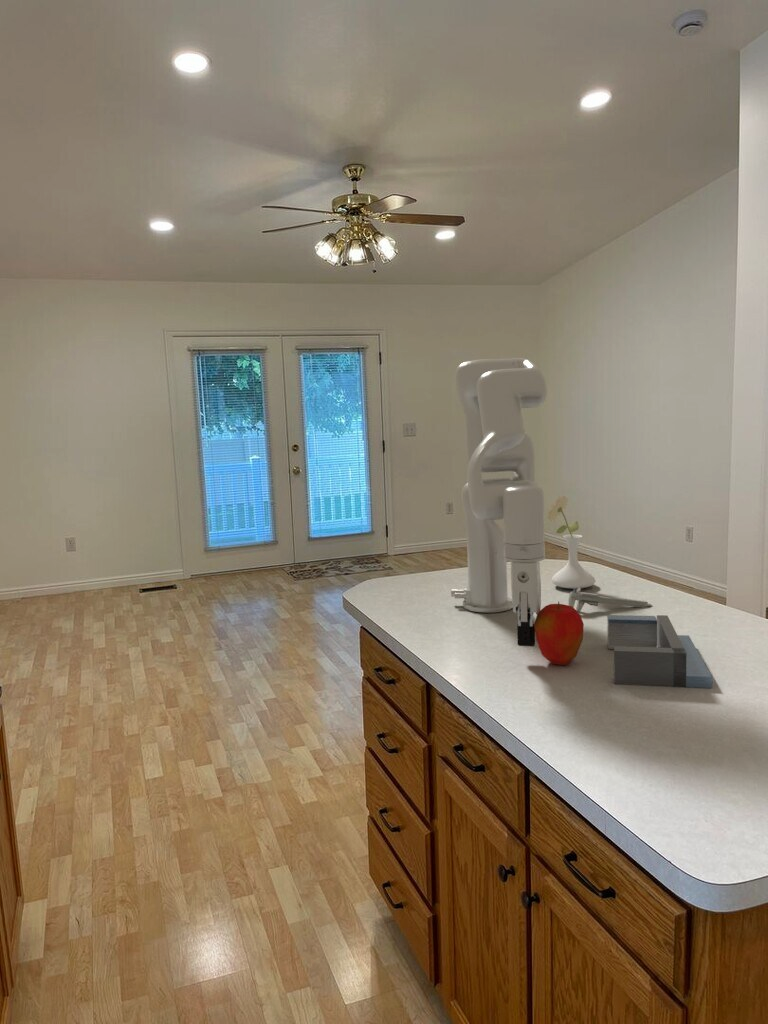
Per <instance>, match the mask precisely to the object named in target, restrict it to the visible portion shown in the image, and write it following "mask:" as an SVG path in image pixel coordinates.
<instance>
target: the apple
mask: <svg viewBox="0 0 768 1024" xmlns="http://www.w3.org/2000/svg"><path fill="white" fill-rule="evenodd" d="M557 601H558V600H557ZM534 619H535V620H534V623H533V624H534V628H535V641H536V643H537V646H538V648H539V650H540V654H541V655H542V657H544V658H545V659H546V660H548V662H550V663H551V664H554V665H559V666H566V665H569V664H570V663H571V662H572V661H573V660H574V659H575V658H576V657H577V656H578V654H579V651H580V648H581V645H582V643H583V639H584V625H585V624H584V621H583V619H582V615H581V614H580V613H578V612H577V611H576V609H575V608H573V607H572V606H569V604H563V603H562V604H561V603H560V601H558V603H550V604H548V605H545V606H543V608H542V609H540V612H539V613H538V614H536V617H535V618H534Z"/></svg>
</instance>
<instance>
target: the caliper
mask: <svg viewBox="0 0 768 1024" xmlns="http://www.w3.org/2000/svg"><path fill="white" fill-rule="evenodd" d="M581 591H582V588H578V589H576V588H575V587H574V589H572V591H570V593H569V596H568V606H572V607H573V608H574V607H575V604H576V601H577V604H576V609H575V608H574V609H575V610H576V611H577V612H578V613H579V614H580V613H581V611H582V609H583V607H584V605H585V604H588V605H589V606H596V607H598V606H599V604H605V605H606V604H607V605H616V606H623V607H624V606H627V607H635V608H647V607H653V605H652V604H651V603H648V601H647V600H637V599H631V598H621V597H620V598H619V597H612V596H611V597H610V596H601V595H600V594H598V593H591V592H581Z"/></svg>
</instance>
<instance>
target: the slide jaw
mask: <svg viewBox="0 0 768 1024" xmlns="http://www.w3.org/2000/svg"><path fill="white" fill-rule="evenodd" d="M606 621H607V623H606V624H607V625H606V627H607V631H606V633H607V641H606V642H607V648H608V649H611V650H614V646H628V647H657V616H655V615H628V614H627V615H626V614H625V615H622V614H621V615H620V614H607V620H606Z"/></svg>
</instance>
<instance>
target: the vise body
mask: <svg viewBox="0 0 768 1024" xmlns="http://www.w3.org/2000/svg"><path fill="white" fill-rule="evenodd" d="M656 619H657V647H628V646H614V649H613V681H614V684H615V685H625V686H626V685H629V686H631V685H632V686H647V687H649V686H650V687H651V686H653V687H673V688H674V687H675V688H677V687H678V688H694V689H695V688H697V689H713V688H712V687H713V686H712V684H713V680H712V679H713V677H712V675H711V673H710V671H709V669H708V668H707V665H706V663H705V662H704V660H703V658H702V656H701V655H700V653H699V651H698V649H697V647H696V646H695V644H694V643H693V641H692V639H691V636H690V635H687V634H686V635H683V634H678V633H677V631H676V629H675V627H674V625H673V623H672V622H671V619H670V618H669V616H668V615H667V614H666V615H664V614H662V615H659V614H658V615H656Z"/></svg>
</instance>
